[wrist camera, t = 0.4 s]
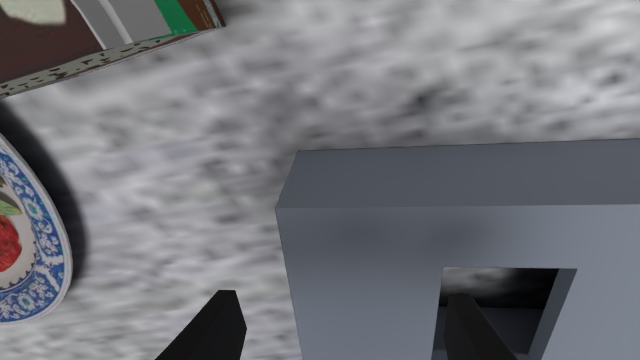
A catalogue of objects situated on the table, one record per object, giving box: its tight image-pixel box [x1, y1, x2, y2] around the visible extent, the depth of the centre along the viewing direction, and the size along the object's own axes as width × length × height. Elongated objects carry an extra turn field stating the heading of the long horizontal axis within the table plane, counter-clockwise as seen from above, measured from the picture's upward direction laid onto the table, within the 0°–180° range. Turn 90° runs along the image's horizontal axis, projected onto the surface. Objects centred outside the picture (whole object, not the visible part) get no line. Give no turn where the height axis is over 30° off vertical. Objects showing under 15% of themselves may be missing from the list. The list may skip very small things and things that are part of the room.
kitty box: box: [275, 139, 640, 360], centre depth 19 cm, size 14×20×6 cm
